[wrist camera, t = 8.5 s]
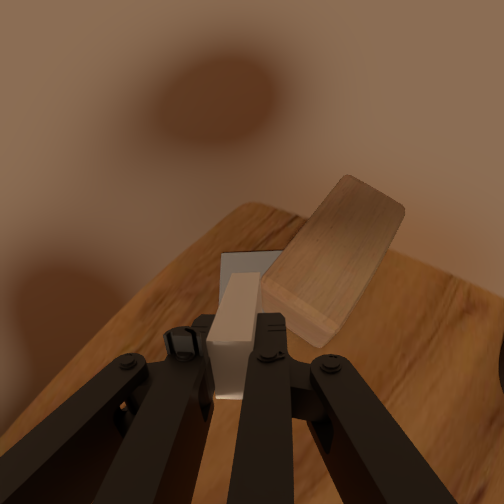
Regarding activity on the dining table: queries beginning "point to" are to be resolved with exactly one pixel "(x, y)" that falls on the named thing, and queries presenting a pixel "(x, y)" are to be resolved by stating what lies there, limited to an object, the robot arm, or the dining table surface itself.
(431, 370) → the dining table surface
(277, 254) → the felt pad
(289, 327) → the wooden block
